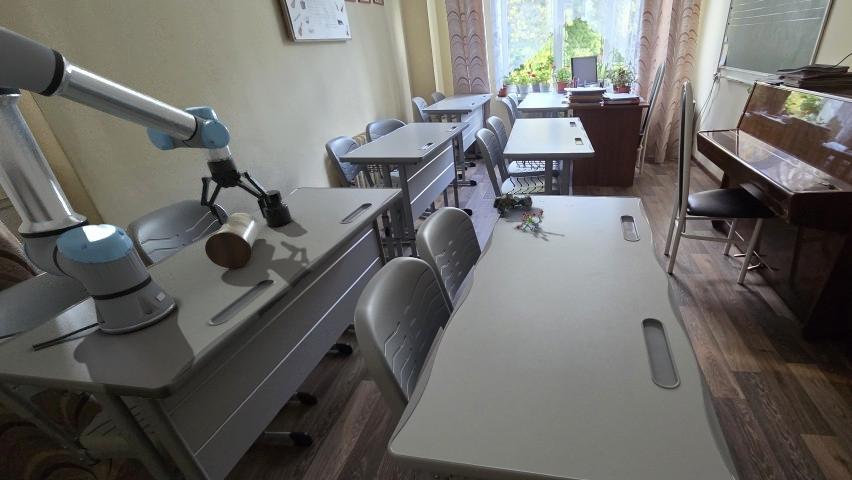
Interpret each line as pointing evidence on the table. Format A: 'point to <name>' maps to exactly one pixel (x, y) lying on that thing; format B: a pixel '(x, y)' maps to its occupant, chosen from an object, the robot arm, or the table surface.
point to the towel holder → (233, 241)
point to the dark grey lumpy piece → (511, 202)
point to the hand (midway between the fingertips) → (244, 220)
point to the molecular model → (530, 221)
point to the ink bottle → (276, 209)
